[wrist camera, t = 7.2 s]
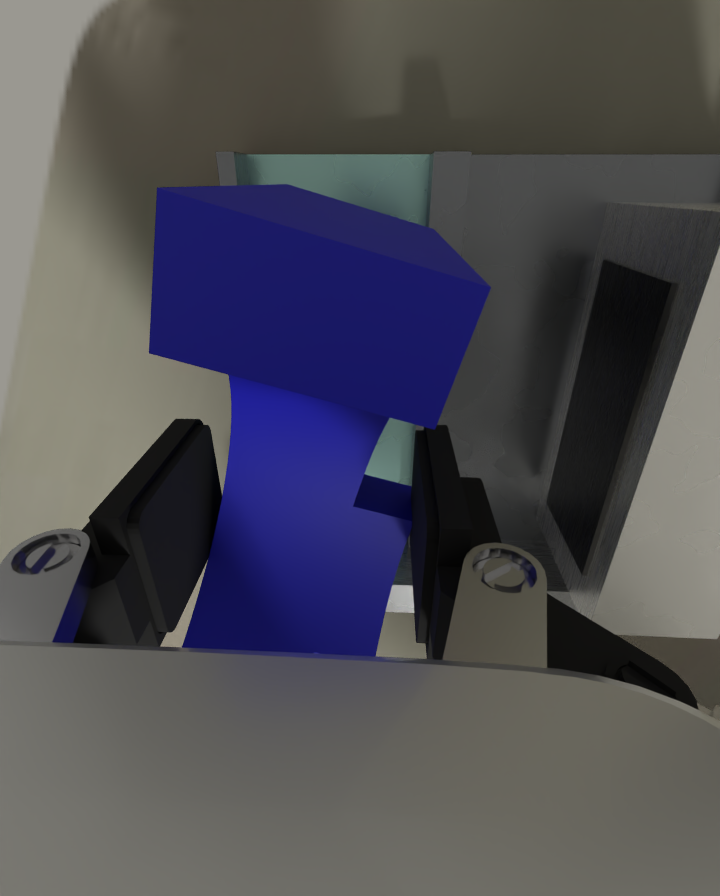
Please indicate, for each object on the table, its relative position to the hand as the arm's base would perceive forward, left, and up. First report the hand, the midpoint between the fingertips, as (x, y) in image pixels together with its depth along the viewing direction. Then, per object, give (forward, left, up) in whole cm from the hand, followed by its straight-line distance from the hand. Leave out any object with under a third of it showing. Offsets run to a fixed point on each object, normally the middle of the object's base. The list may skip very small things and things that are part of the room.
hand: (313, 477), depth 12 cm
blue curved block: (0, 0, -1) cm, 1 cm away
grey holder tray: (-5, +1, -8) cm, 9 cm away
